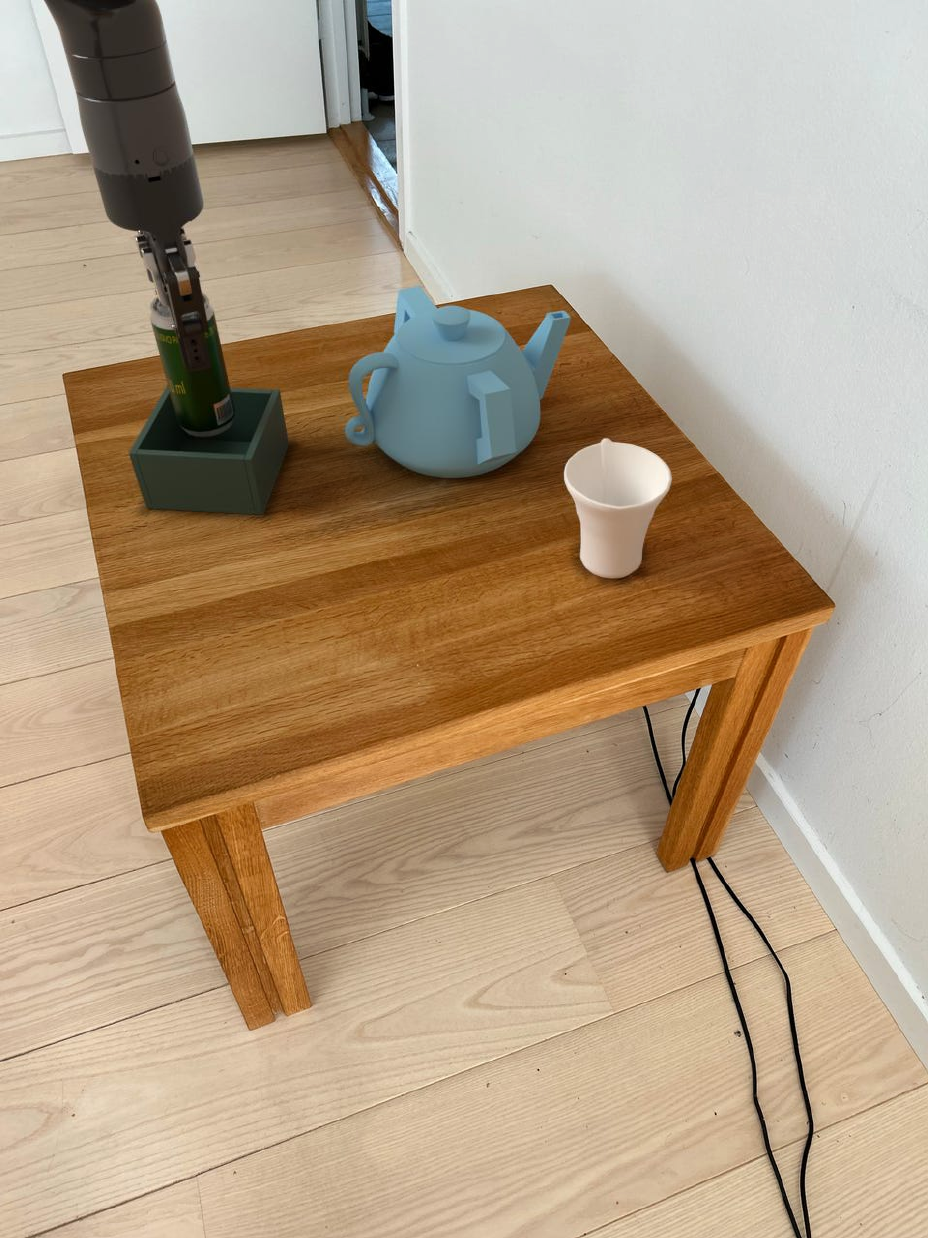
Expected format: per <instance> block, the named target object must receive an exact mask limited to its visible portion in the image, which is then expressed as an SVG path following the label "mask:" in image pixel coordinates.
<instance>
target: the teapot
mask: <svg viewBox="0 0 928 1238" xmlns="http://www.w3.org/2000/svg"><path fill="white" fill-rule="evenodd" d="M395 309H396V310H395V317H394V318H395V319H394V328H393V333H394V334H393V336H392V337H391V339H390V340H389V342H388V343H387V344H386V346H385V348H384V350H383V351H381V352H380V351H379V352H373V353H370V354H367V355H365V356H364V357H361V358H360V359H359V360H357V361H356V363H354V365H353V366H352V368H351V370H350V372H349V375H348V388H349V393H350V396H351V399H352V401H353V404H354V406H355V407H356V410H357V412H358V414H359V416H353V417H351V418H350V419H349V420H348V421H347V422H346V425H345V427H344V428H345V429H344V434H345V437H346V439H347V441H348V442H349V443H350V444H352V445H355V446H358V447H367V446H370V445H371V444H373V443H375V444H376V445H377V448H379V449H380V450H381V451H382V452H383V453H385V454H386V455H387V456H388V457H390V459H392V460H394V461H395V462H396V463H398V464H399V465H401V466H402V467H404V468H406V469H408V470H410V471H412V472H415V473H418V474H421V475H424V476H427V477H433V478H441V479H460V478H461V479H463V478H469V477H470V478H471V477H476V476H478V475H479V476H480V475H483V474H487V473H490V472H492V471H494V470H496V469H499V468H501V467H503V466H504V465H506V464H507V463H508V462H510V461H512V460H513V459H514V458H515V457H517V456H519V454H520V453H522V452H523V451H524V450H525V449H526V448H527V447H528V446H529V445H530V444H531V443H532V441H533V440H534V438H535V436H536V434H537V432H538V430H539V427H540V423H541V400H542V399H543V398H544V395H545V392H546V389H547V386H548V384H549V381H550V378H551V375H552V373H553V370H554V367H555V364H556V362H557V359H558V356H559V353H560V351H561V348H562V345H563V342H564V340H565V337H566V335H567V331H568V328H569V326H570V323H571V319H572V318H571V315H570V314H568V313H567V312H566V310H558V311H552V312H551V311H550V312H546V313H545V318H544V319H543V320H542V322H540V324H539V326H538V327H537V329H536V330H535V332H534V333H533V334H532V336H531V338H529V341H527V343H526V344H525V346H524V347H523V349H522V350H521V349H520V347H519V346H518V344H517V343H516V341H515V340H514V338H513V336H512V335H511V334H510V333H509V332H508V330H507V329H506V328H505V327H504V325H503V324H502V323H501V322H500V321H498V320H496V319H495V318H494V317H492V316H491V315H489V314H486V313H483V312H481V311H477V310H473V309H467V308H465V307H463V306H459V305H445V306H441V307H438V308H437V306H436V305H435V303H434V302H433V301H432V299H431V298H430V297H429V296H428V294H427V293H426V291H425V290H424V289H423V287H422V286H421V284H420V285H419V284H418V285H415V286H414V285H413V286H411V287H406V288H403V289H402V288H401V289H399V290H398V291H397V299H396V308H395ZM370 373H372V374H371V376H370V379H369V383H368V388H367V393H366V397H365V396H364V393H363V380H364V379H365V378H366V377H367V376H368V375H369V374H370ZM358 427H363V429H362V430H360V431H356V429H357V428H358Z"/></svg>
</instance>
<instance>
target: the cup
mask: <svg viewBox="0 0 928 1238" xmlns="http://www.w3.org/2000/svg"><path fill="white" fill-rule="evenodd" d="M563 478H564V479H563V480H564V483H565V487H566V489H567V491H568V492H569V494H570V496H571V497H572V499H573V501H574V503H575V510H576V514H577V516H578V519H579V523H580V524H579V525H580V526H579V527H580V549H579V559H580V561H581V563H582V565H583V567H584V568H585V569H587V570H588V571H589V572H590V573H591V574H593V575H595V576H598V577H601V578H603V579H604V578H605V579H611V580H612V579H621V578H626V577H627V576H630V575H631V574H633V573H634V572H635V571H636V570H638V569H639V567H640V566H641V564H642V562H643V561H642V559H643V547H644V542H645V538H646V534H647V533H648V528H649V525H650V523H651V521H652V519H653V518H654V514H655V511H656V509H657V508H658V506H659V504H660V503H661V502H662V500H664V498H665V497H666V496H667V494H668V492H669V491H670V489H671V485H672V481H673V477H672V471H671V469H670V467H669V465H668V464H667V463H666V461H665V460H663V458H662V457H660V456H659V455H657V454H656V453H654V452H652V451H650V450H649V449H647V448H645V447H642V446H638V445H635V444H632V443H625V442H617V441H616V442H615V441H612V440H611V439H610V438H608V437H606V438H603V439H602V440H601V441H600V442H598V443H595V444H592V445H589V446H586V447H584V448H582V449H580V450H578V451H577V452H576V453H574V454H573V455H572V456H571V457H570V458H569V459H568V461H567V462H566V463H565V467H564V471H563Z"/></svg>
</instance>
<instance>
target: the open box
mask: <svg viewBox="0 0 928 1238" xmlns="http://www.w3.org/2000/svg"><path fill="white" fill-rule="evenodd" d="M230 389H231V394H232V399H233V403H234V408H235V417H234V420H233V423H232V425H231V426H230V427H229V428H228V429H227V430H226V431H224V432H222V433H220V434H217V435H213V436H207V437H199V436H193V435H190V434H188V433H187V432H186V431H184V430H183V428H182V427H181V426H180V425H179V423H178V421H177V418H176V414H175V410H174V407H173V403H172V399H171V395H170V392H169V388H168V384H166V386H165V388H164V390H163V391H162V393H161V394H160V397H159V399H158V400H157V402H156V404H155V406H154V408H153V409H152V411H151V412H150V415H149V416H148V417H147V419H146V421H145V423H144V425H143V427H142V429H141V431H140V432H139V434H138V436H137V438H136V439H135V441H134V443H133V444H132V446H131V448H130V451H129V452H128V455H129V459H130V462H131V465H132V468H133V471H134V474H135V477H136V480H137V483H138V487H139V489H140V492H141V493H140V494H141V495H142V499H143V502H144V504H145V508H146V509H148V510H166V511H185V512H205V513H222V514H236V515H237V514H239V515H257V516H264V513H265V511H266V508H267V505H268V503H269V499H270V497H271V494H272V492H273V490H274V486H275V484H276V481H277V478H278V476H279V472H280V470H281V468H282V465H283V463H284V459H285V456H286V454H287V451H288V448H289V446H290V441H289V435H288V429H287V424H286V417H285V412H284V406H283V400H282V394H281V390H280V389H268V388H265V389H264V388H245V387H230Z"/></svg>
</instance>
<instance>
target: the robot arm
mask: <svg viewBox="0 0 928 1238" xmlns="http://www.w3.org/2000/svg"><path fill="white" fill-rule="evenodd" d="M43 2H44V3H45V5H46V7H47V9H48V12H49V13H50V15H51V16H52V19H53V21H54V22H55V25H56V27H57V30H58V32H59V33H58V34H59V36H60V42H61V44H62V48H63V51H64V55H65V58H66V62H67V66H68V69H69V72H70V76H71V80H72V83H73V87H74V91H75V95H76V101H77V106H78V112H79V119H80V120H79V121H80V126H81V128H82V133H83V136H84V140H85V143H86V147H87V151H88V155H89V157H90V161H91V166H92V168H93V172H94V176H95V179H96V182H97V186H98V190H99V193H100V197H101V201H102V204H103V208H104V212H105V215H106V217H107V219H108V220H109V221H110V222H111V223H112V224H113V225H115V226H117V228H121V229H123V230H128V231H130V232H137V234H136V235H134V240H135V244H136V247H137V250H138V252H139V255H140V257H141V259H142V262H143V266H144V271H145V273H146V276H147V279H148V281H149V282H150V283H152V284H153V287H154V288H153V292H154V294H155V295H156V297H158V298H159V301H160V303H161V304H162V305H164V306H167V308H168V310H169V314H170V317H171V321H172V324H173V325H171V326H172V329H173V331H175V333H176V336H177V340H178V344H179V348H180V352H181V356H182V360H183V364H184V367H185V369H186V370H187V371H188V372H195V371H199V370H204V369H207V368H209V367H210V365H211V362H210V357H209V353H208V348H207V344H206V340H205V335H204V333H205V332H209V328H208V327H209V323H208V321H207V317H206V312H205V306H204V301H203V296H202V293H203V290H202V286H201V281H200V278H201V273H200V271H199V270H198V268H197V266H196V265H195V263H196V260H197V257H196V253H195V250H194V246H193V243H192V240H191V238H187V234H186V232H185V229H184V226H185V225H186V224H187V223H189V222H192V221H194V220H196V218H197V217H199V216H200V214H201V213H202V211H203V209H204V198H203V193H202V188H201V183H200V178H199V174H198V173H199V172H198V168H197V164H196V163H197V162H196V158H195V154H194V149H193V144H192V139H191V134H190V129H189V124H188V120H187V116H186V111H185V108H184V105H183V102H182V100H181V96H180V93H179V90H178V87H177V83H176V79H175V78H176V77H175V74H174V73H175V72H174V69H173V64H172V59H171V54H170V50H169V44H168V40H167V34H166V30H165V25H164V19H163V18H162V12H161V10H160V6H159V4H158V2H157V0H43ZM167 292H168V294H166V293H167ZM191 312H194V315H193V316H188V317H183V318H181V317H182V315H183V314H186V313H191Z"/></svg>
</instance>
